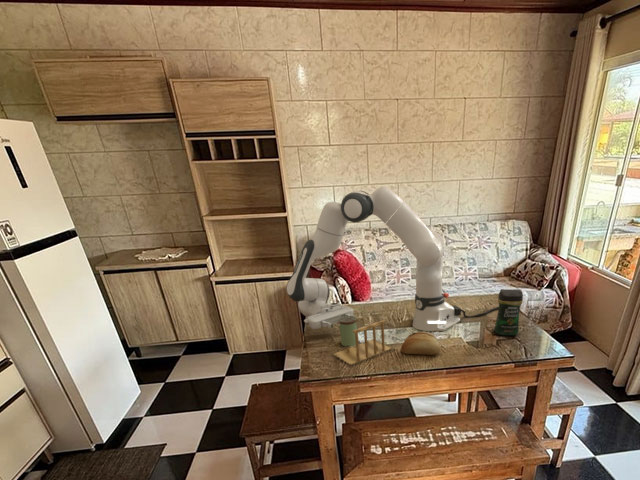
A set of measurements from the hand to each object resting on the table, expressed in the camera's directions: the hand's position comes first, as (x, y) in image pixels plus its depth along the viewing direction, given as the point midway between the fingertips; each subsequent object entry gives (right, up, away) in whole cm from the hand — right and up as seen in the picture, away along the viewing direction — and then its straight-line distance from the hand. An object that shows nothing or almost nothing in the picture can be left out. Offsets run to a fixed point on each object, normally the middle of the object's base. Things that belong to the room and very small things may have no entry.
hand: (341, 322), depth 166 cm
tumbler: (+3, -9, +1) cm, 9 cm away
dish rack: (+9, -13, -7) cm, 17 cm away
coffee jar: (+69, -4, +5) cm, 69 cm away
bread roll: (+32, -13, -9) cm, 35 cm away
